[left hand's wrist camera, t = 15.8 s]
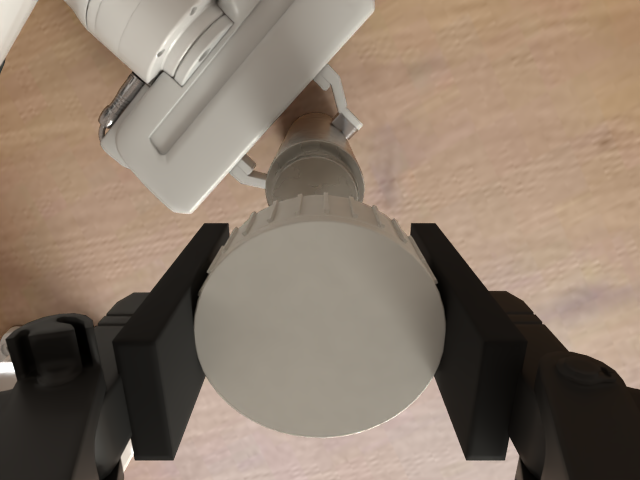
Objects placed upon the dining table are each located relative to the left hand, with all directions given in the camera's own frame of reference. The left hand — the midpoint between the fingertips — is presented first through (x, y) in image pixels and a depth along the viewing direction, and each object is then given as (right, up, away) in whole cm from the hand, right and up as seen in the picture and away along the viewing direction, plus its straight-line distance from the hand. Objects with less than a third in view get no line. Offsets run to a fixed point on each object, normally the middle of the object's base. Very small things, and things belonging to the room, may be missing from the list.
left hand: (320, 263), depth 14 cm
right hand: (0, +6, +18) cm, 19 cm away
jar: (0, +9, +24) cm, 26 cm away
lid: (0, -1, -4) cm, 4 cm away
